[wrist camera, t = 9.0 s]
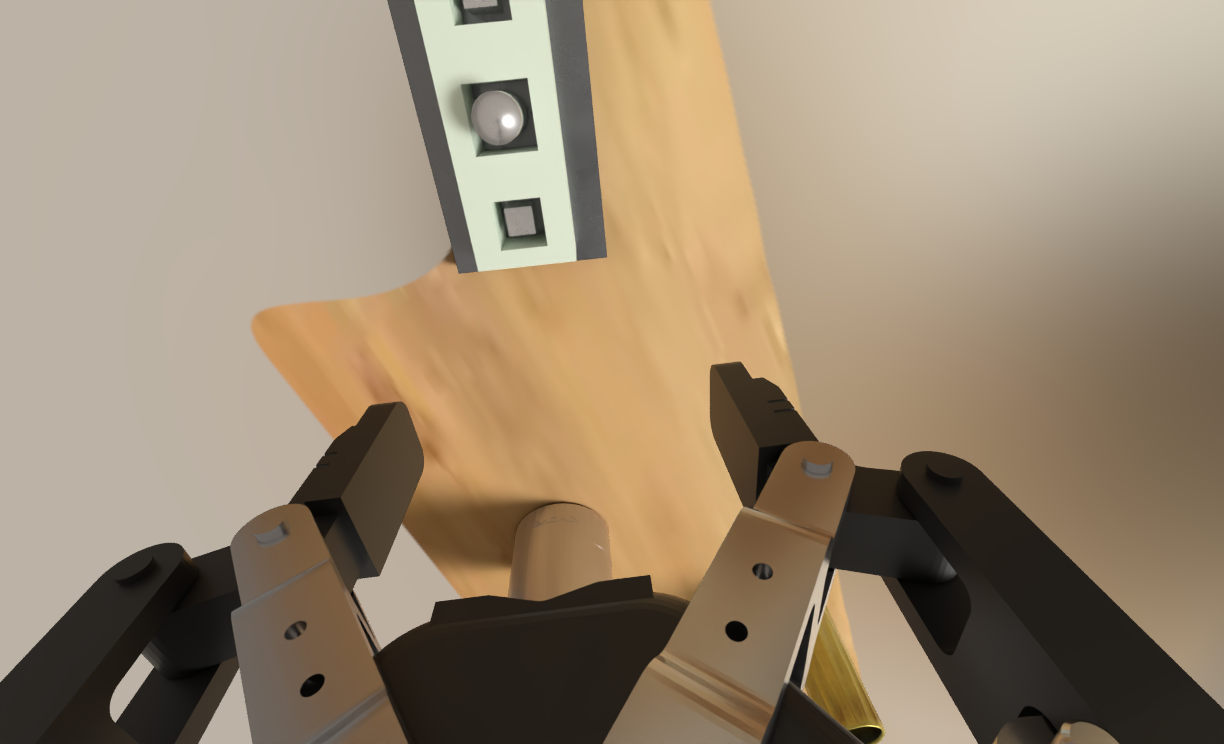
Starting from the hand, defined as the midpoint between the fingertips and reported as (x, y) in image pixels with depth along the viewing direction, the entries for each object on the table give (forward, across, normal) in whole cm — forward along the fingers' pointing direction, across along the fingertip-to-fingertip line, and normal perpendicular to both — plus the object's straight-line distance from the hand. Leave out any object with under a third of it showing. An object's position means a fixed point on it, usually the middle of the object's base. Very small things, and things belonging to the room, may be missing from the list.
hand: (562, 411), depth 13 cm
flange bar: (+21, +3, -7) cm, 22 cm away
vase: (+25, -20, +45) cm, 55 cm away
